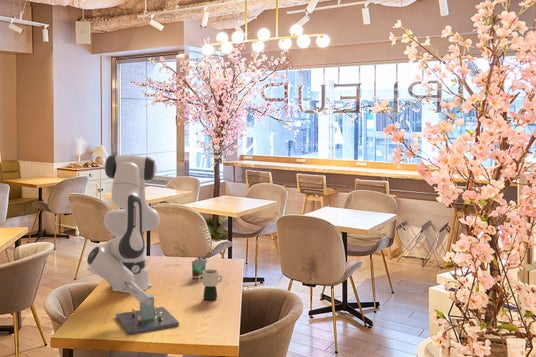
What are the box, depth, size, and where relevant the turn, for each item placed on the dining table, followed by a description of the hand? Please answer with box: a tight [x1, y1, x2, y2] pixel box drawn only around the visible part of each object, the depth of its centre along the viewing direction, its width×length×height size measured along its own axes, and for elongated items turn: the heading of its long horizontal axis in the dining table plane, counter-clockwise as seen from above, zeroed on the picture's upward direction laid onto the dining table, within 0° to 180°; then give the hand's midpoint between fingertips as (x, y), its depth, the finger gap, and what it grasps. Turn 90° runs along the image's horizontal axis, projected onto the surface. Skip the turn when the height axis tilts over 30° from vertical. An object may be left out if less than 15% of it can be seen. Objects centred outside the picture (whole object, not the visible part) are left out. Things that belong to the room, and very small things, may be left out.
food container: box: [191, 255, 208, 280], centre depth 275 cm, size 12×6×10 cm, turn 171°
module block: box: [139, 293, 155, 320], centre depth 211 cm, size 4×4×9 cm
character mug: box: [198, 268, 223, 301], centre depth 241 cm, size 11×7×13 cm, turn 93°
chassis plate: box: [115, 305, 180, 336], centre depth 211 cm, size 20×20×4 cm
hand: (146, 299), depth 211 cm, fingers open, 8 cm apart
